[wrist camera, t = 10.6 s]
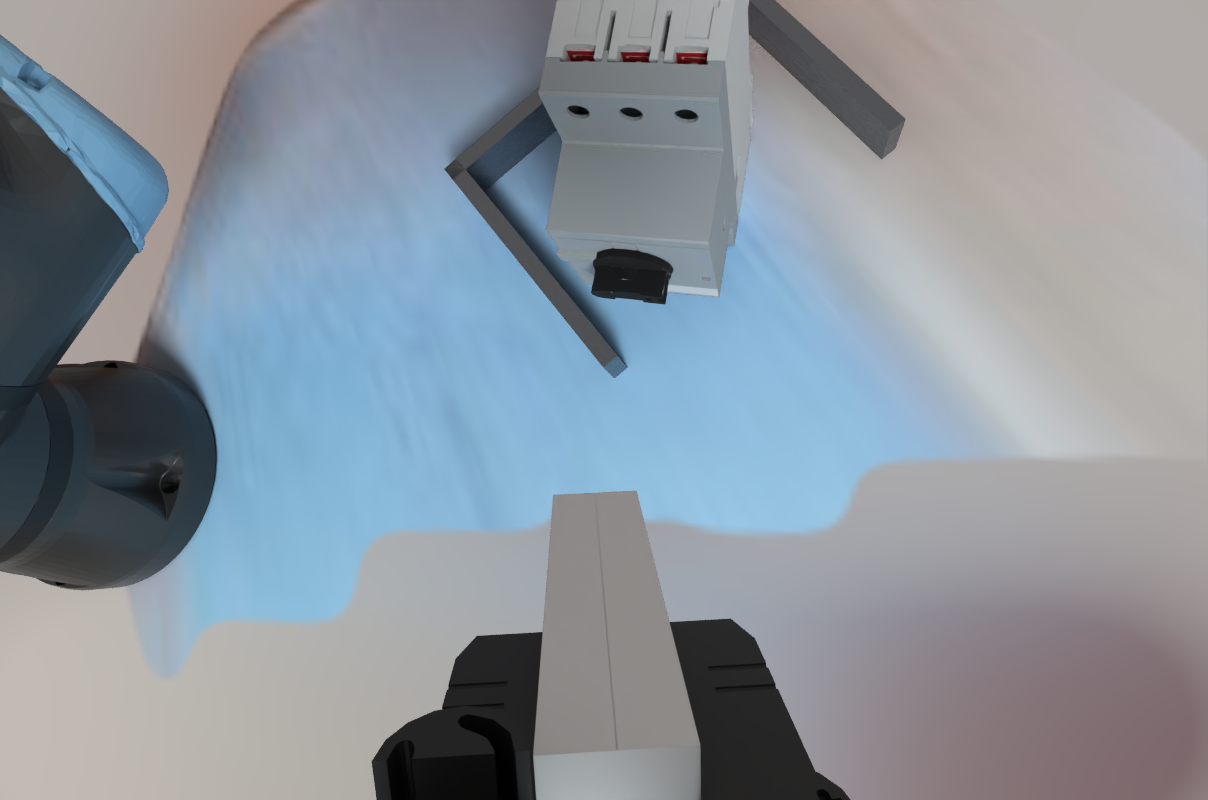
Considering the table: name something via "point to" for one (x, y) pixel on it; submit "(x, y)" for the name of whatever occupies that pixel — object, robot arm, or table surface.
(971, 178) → the table surface
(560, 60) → the circuit breaker
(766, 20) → the lockout stall
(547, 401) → the table surface
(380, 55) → the table surface
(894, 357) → the table surface
